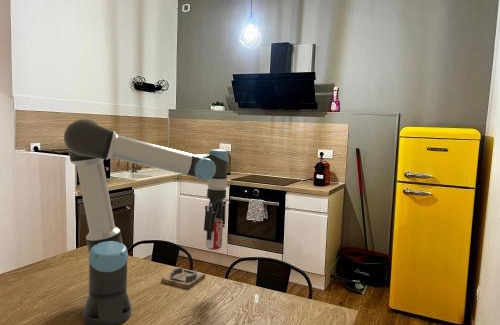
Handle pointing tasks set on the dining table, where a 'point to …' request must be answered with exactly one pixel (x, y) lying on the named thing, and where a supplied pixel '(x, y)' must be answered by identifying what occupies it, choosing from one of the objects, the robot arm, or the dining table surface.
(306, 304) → the dining table surface
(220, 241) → the beverage can
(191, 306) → the dining table surface
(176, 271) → the socket board
